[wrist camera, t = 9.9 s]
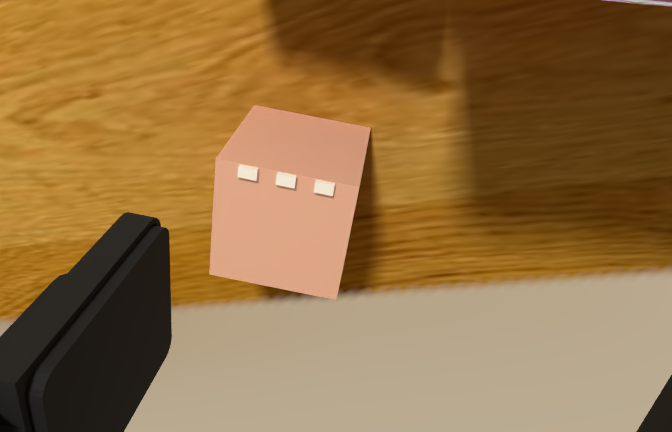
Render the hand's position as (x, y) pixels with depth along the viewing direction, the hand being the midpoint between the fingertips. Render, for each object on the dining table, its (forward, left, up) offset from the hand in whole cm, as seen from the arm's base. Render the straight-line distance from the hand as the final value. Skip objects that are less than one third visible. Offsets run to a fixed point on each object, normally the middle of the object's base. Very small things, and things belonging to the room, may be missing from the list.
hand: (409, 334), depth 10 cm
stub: (+4, +7, -19) cm, 21 cm away
